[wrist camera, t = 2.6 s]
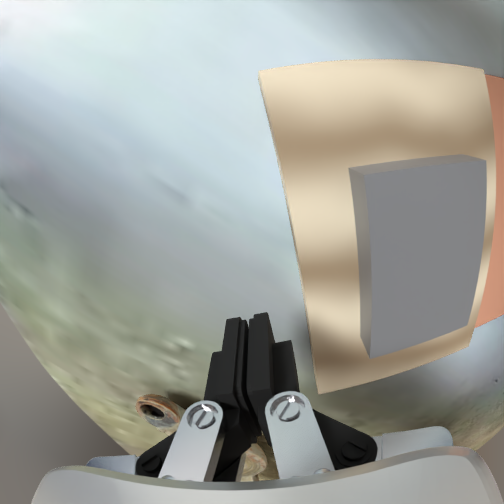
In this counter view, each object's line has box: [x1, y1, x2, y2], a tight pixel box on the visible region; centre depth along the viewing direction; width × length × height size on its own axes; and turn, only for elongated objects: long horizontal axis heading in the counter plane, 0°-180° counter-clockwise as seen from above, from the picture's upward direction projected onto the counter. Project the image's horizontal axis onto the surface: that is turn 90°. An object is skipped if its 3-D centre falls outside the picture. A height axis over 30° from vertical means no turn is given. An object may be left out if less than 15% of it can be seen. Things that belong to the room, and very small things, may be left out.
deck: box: [258, 59, 496, 394], centre depth 14 cm, size 20×13×2 cm, turn 13°
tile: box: [348, 154, 487, 359], centre depth 13 cm, size 10×7×2 cm
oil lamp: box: [136, 394, 267, 482], centre depth 20 cm, size 9×21×10 cm, turn 28°
